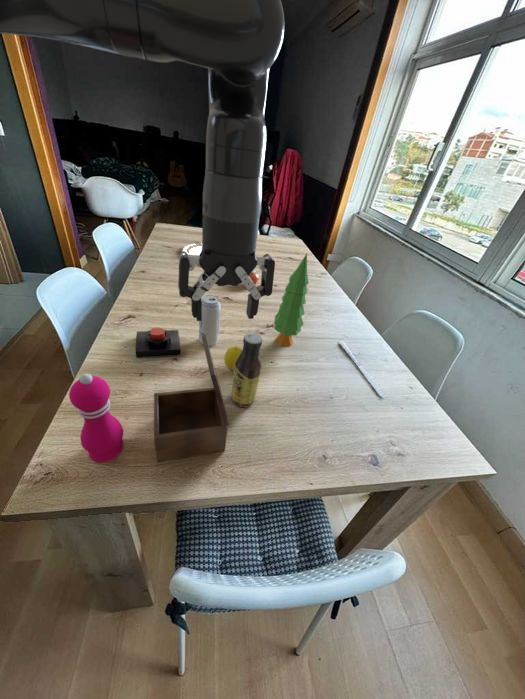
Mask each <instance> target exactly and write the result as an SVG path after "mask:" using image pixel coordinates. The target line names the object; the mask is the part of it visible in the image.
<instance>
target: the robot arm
mask: <svg viewBox="0 0 525 699" xmlns="http://www.w3.org/2000/svg"><path fill="white" fill-rule="evenodd" d="M0 34H4V35H5V34H6V35H14V36H24V37H33V38H38V39H45V40H50V41H51V40H52V41H55V42H60V43H61V42H62V43H66V44H72V45H75V46H81V47H86V48H90V49H94V50H99V51H102V52H108V53H112V54H114V55H115V54H116V55H120V56H123V57H128V58H132V59H136V60H143V61H148V62H152V63H156V64H157V63H158V64H173V63H176V62H181V63H185V64H189V65H193V66H196V67H202V68H205V69H207V82H208V83H207V88H208V116H207V121H206V122H207V123H206V129H205V152H204V153H205V156H204V157H205V158H204V159H205V160H204V161H205V162H204V168H205V170H204V178H203V186H202V224H201V225H202V228H201V229H202V230H201V231H202V233H201V234H202V236H201V238H202V239H201V243H202V251H201V253H200V255H190V254H187V253H186V252H185V251H182V250H181V251H180V252H179V254H178V280H177V281H178V283H177V284H178V295H179V297H180V298H189V299H190V303H191V304H190V306H191V307H190V308H191V314H192V317H193V319H196V322H199V321H202V298H203V297H204V296H205V294H206V292H209V291H210V290H211V289H213V286H215V285H217V287H226V286H232V287H239V285H241V284H243V285H244V287H245V288H246V289H247V291H248V292H249V293H248V295H247V304H246V310H245V312H246V313H245V314H246V316H247V318H248V320H254V317H255V316H257V314H258V312H259V304H260V299H261V298H262V297H265V296H266V297H270V296H272V294H273V288H274V287H273V286H274V279H275V278H274V277H275V270H276V269H275V268H276V261H275V260H274V259H273V257H272V256H271V255H270V254H269V253H265V254H263V256H256V249H257V242H258V232H259V225H260V217H261V214H262V200H263V175H264V174H263V173H264V166H265V157H266V150H267V149H266V148H267V126H266V121H265V111H266V101H267V94H268V93H267V92H268V83H269V76H270V75H269V74H270V69H271V67H273V64H274V63H275V62H276V60H277V58H278V56H279V53H280V51H281V49H282V45H283V42H284V35H285V14H284V8H283V4H282V1H281V0H0ZM197 265H199V266H200V267H201V269H202V270H203V271H202V273H201V274H200V275H199V276H198V278H197V280H196V282H195V283H194V284H193V285H192V286H191V285H189V280H190V279H189V278H190V272H193V271H194V270H195V267H196V266H197ZM257 266H258V269H259V270H260V271H261V278H260V285H258V286H256V285H254V283H253V282H252V280H251V279H250V277H249V275H250V273H251V272H252V271H253V270H254V271H255V269H256V268H257Z"/></svg>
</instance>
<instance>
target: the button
mask: <svg viewBox="0 0 525 699" xmlns="http://www.w3.org/2000/svg"><path fill="white" fill-rule="evenodd" d="M165 330H166V329H164V328H162V327H153V328H151V329H150V337H151V338H152V339H154V340H161V339H163V338H164V337H165Z"/></svg>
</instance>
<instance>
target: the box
mask: <svg viewBox="0 0 525 699" xmlns="http://www.w3.org/2000/svg"><path fill="white" fill-rule="evenodd" d="M153 430H154V431H153V441H154V449H155V456H156V462H157V463H162V462H169V461H175V460H181V459H186V458H192V457H198V456H205V455H210V454H217V453H222V452H225V451H226V445H227V435H228V426H227V427H225V424H224V420H223V417H222V413H221V410H220V407H219V403H218V400H217V397H216V393H215V390H214V387H205V388H195V389H194V388H193V389H183V390H175V391H174V390H173V391H163V392H153Z"/></svg>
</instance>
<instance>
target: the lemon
mask: <svg viewBox="0 0 525 699" xmlns="http://www.w3.org/2000/svg"><path fill="white" fill-rule="evenodd" d="M242 350H243V348H241V347H239V346H235V345H234V346H231V347H229V348H228V349H227V350H226V351H225V354H224V358H223V360H224V364H225V366H226V367H227V369H228V370H230V371H231V370H232V371H234V368H235V362H236V361H237V359H238V357H239V356H240V354H241V352H242Z"/></svg>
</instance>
